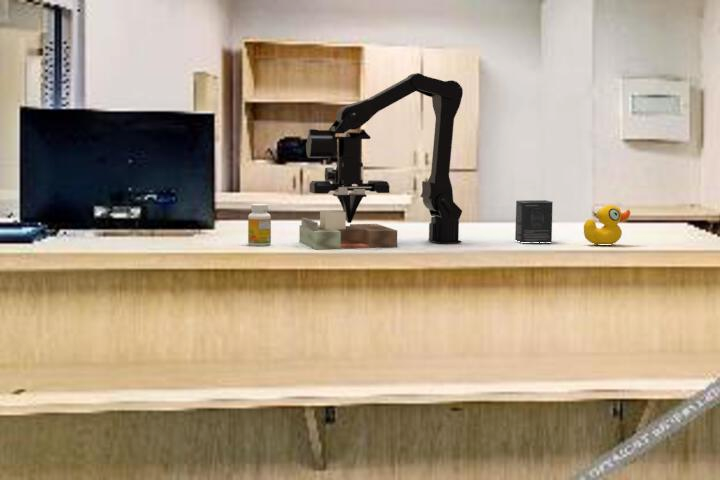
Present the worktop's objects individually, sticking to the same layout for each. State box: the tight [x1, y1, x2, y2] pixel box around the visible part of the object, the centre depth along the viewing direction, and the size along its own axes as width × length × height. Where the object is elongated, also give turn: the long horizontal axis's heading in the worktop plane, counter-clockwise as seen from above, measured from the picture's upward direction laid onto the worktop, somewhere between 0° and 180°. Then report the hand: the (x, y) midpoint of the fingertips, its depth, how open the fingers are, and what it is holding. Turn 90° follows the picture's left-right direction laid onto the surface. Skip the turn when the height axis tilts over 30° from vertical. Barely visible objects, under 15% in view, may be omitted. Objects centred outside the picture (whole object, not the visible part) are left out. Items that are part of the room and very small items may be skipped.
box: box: [514, 199, 553, 244], centre depth 235 cm, size 8×6×11 cm
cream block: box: [319, 209, 347, 229], centre depth 225 cm, size 5×5×4 cm
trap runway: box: [298, 217, 398, 250], centre depth 227 cm, size 20×16×6 cm
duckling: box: [583, 204, 631, 245], centre depth 231 cm, size 11×5×10 cm, turn 95°
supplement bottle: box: [247, 203, 272, 247], centre depth 223 cm, size 5×5×10 cm
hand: (349, 222), depth 227 cm, fingers closed
